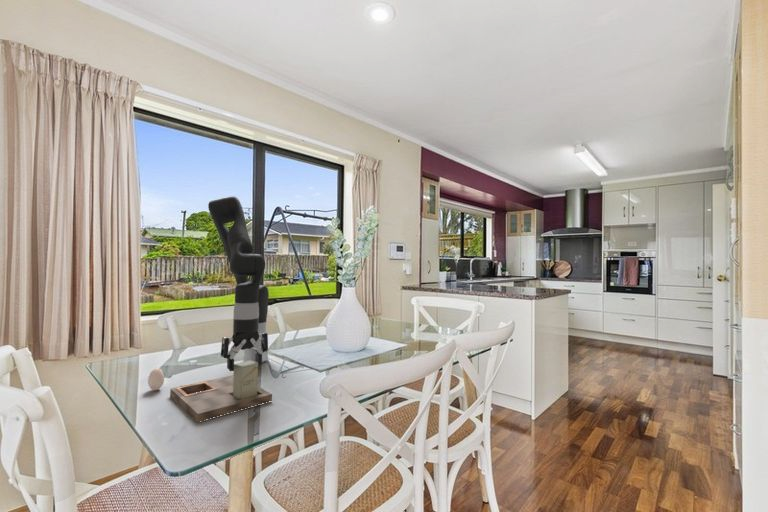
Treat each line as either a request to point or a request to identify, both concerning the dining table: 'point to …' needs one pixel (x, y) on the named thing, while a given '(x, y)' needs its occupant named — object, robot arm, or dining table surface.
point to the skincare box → (245, 379)
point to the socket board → (214, 398)
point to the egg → (156, 379)
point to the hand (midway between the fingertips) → (244, 368)
